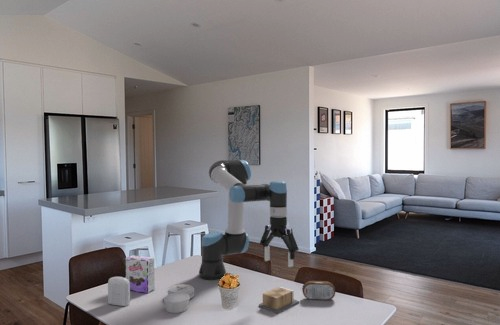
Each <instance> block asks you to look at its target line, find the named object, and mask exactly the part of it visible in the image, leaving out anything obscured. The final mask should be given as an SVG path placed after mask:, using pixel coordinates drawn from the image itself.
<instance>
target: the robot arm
mask: <svg viewBox="0 0 500 325" xmlns="http://www.w3.org/2000/svg"><path fill="white" fill-rule="evenodd" d="M208 176H209V178H210V180H211V181H213V183H214V184H218V185H220V186H221V187H222V188H223V189H224V190H225V191H227V192H228V203H227V205H228V206H227V211H228V212H227V227H226V229H225V230H224V234H223V232H220V231H214V232H213V231H212V232H209V233H206V234H204V235H203V236H202V237H201V243H200V244H201V263H200V264H201V265H200V267H199V271H198V277H199V278H200V279H202V280H208V281H209V280H211V281H213V280H219V279H222V278H221V277H223V276H224V274H225V273H226V274H227V270H226V267H225V264H224V260H223V259H224V257H223V256H230V255H240V254H243V253H245V252H247V250H248V249H249V246H250V238H249V234H248V233H247V232H246V230H245V229H244V203H249V202H264V201H265V202H266V201H267V202H269V215H270V216H269V224H267V225H265V226H264V231H263V234H262V237H261V239H260V241H259V244H260V245H262V246H263V253H264V262H268V261H270V259H271V252H270V251H271V248H270V243H271V242H272V240H273V239H274V238H280V239H281V240H282V241H283V242H284V245H285V246H286V248H287V249H288V252H287V267H288V268H292V267H294V260H295V255H296V254H295V252H298V251H299V247H298V243H297V241H296V239H295V236H294V234H293V233H294V232H293V228H291V227H290V228H287V224H288V219H287V218H288V217H287V215H288V213H287V212H288V209H287V205H288V204H287V203H288V202H287V200H288V199H287V198H288V197H287V196H288V189H287V182H286V181H279V180H278V181H276V180H275V181H274V180H273V181H271V182H269V184H268V183H262V184H249V185H247V182H248V181H249V180H250V179H251V176H252V170H251V167H250V165H249V162H248V161H246V160H243V159H228V160H227V159H226V160H224V159H223V160H222V159H221V160H217V161H215V162H214V163H212V164H211V166H210V167H209V170H208ZM223 278H224V277H223Z"/></svg>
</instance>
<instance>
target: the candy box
mask: <svg viewBox="0 0 500 325" xmlns="http://www.w3.org/2000/svg"><path fill="white" fill-rule="evenodd" d="M124 261H125V262H124V263H125V278H126V279H128V280H129V281H130V292H137V293H142V294H150V293H152V292H153V291H155V290H156V288H155V257H148V256H140V255H129V256H127V257H125V260H124Z"/></svg>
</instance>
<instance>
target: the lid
mask: <svg viewBox="0 0 500 325" xmlns="http://www.w3.org/2000/svg"><path fill="white" fill-rule="evenodd" d="M166 292H167V295H169V294H173V293H186V294H188V295H189V296H190V299H192V298H194V297H195V288H194V287H193V285H189V284H182V283H181V284H176V285H175V284H174V285H173V286H170V287H169V288H168V289H167V291H166Z"/></svg>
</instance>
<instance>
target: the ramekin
mask: <svg viewBox="0 0 500 325" xmlns="http://www.w3.org/2000/svg"><path fill="white" fill-rule="evenodd" d="M190 299H191V298H190V296H189V295H188V294H186V293H173V294H169V295H168V294H167V295H165V296H164V297H163V303H164V305H165V306H164V307H165V310H166V311H167V312H168V313H170V314H179V313H183V312H185V311H187V309H189V304H190Z"/></svg>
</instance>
